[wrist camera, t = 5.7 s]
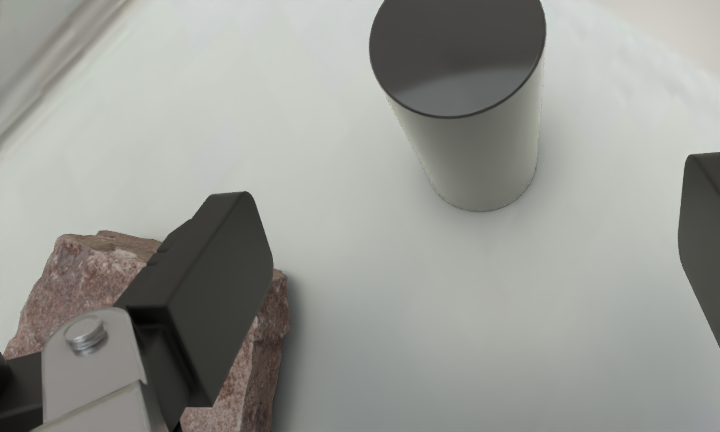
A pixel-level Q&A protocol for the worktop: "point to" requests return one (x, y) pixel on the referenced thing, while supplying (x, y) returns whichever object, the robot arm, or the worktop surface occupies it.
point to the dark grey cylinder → (465, 91)
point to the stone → (106, 284)
